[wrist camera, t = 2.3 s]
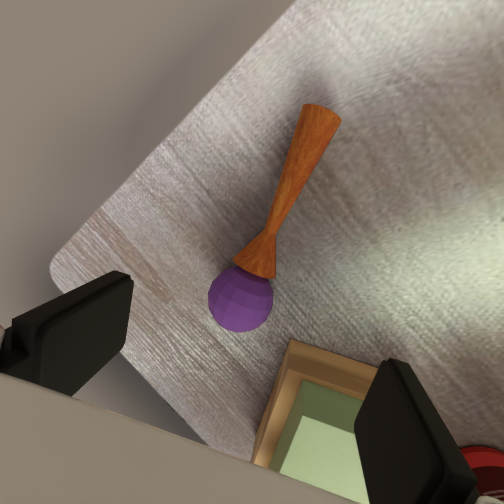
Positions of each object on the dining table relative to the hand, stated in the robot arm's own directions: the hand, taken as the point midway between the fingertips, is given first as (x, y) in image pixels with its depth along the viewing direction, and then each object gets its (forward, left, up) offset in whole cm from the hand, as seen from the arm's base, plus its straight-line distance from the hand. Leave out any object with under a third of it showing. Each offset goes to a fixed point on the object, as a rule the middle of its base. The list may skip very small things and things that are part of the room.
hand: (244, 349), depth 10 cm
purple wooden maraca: (-2, -1, -18) cm, 18 cm away
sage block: (+16, +10, -13) cm, 23 cm away
